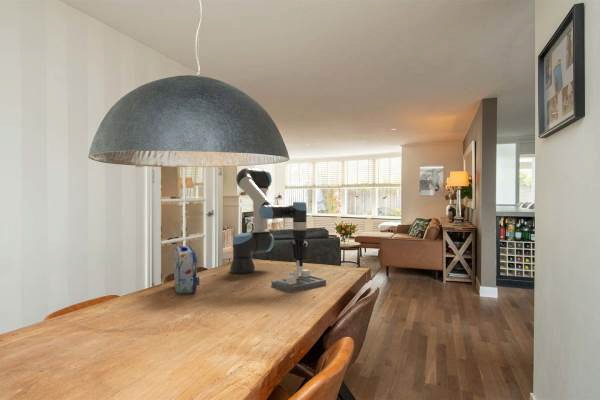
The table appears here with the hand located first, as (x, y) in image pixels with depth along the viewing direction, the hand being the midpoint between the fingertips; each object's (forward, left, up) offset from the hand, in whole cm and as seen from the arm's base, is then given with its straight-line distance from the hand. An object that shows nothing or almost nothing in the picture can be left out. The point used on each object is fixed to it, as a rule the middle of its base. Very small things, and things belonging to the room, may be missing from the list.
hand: (299, 271), depth 194 cm
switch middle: (+5, -8, -2) cm, 10 cm away
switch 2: (+5, 0, -2) cm, 5 cm away
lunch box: (-20, -57, -5) cm, 61 cm away
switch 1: (+12, -16, -2) cm, 20 cm away
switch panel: (+9, -8, -5) cm, 13 cm away
